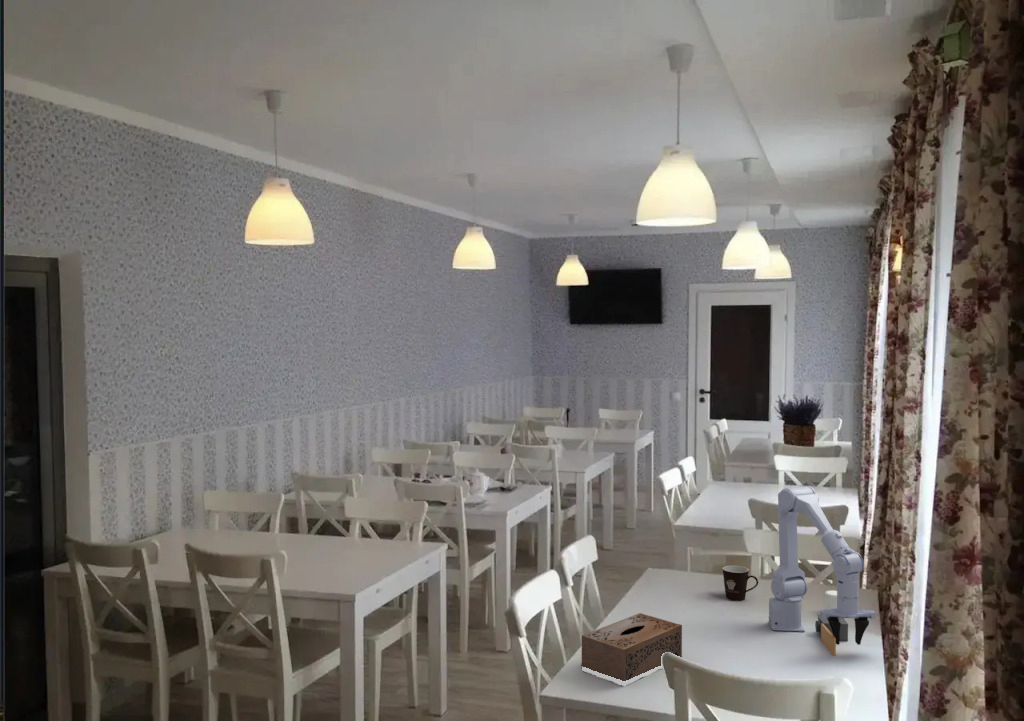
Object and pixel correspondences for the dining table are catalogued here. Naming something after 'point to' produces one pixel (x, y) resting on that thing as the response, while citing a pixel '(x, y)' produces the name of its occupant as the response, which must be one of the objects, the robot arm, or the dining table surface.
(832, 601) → the white cup
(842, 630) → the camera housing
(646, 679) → the dining table surface
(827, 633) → the side door
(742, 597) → the coffee mug
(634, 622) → the tissue box cover
